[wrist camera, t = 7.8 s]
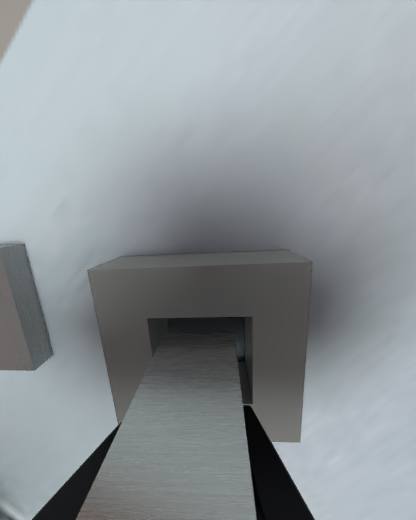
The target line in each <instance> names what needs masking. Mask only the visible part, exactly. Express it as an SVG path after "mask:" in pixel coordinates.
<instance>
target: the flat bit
mask: <svg viewBox="0 0 416 520" xmlns="http://www.w3.org/2000/svg"><path fill="white" fill-rule="evenodd" d="M52 355H53V352H52V348H51V345H50V341H49V337H48V333H47V329H46V325H45V321H44V318H43V314H42V310H41V306H40V302H39V298H38V295H37V291H36V287H35V283H34V279H33V275H32V271H31V268H30V264H29V260H28V256H27V252H26V248H25V244H16V245H0V370H36V369H37V368H38V367H39V366H40V365H42V364H43V363H44V362H45V361H46V360H48V359H49V358H50V357H51V356H52Z"/></svg>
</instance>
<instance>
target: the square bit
mask: <svg viewBox="0 0 416 520" xmlns="http://www.w3.org/2000/svg"><path fill="white" fill-rule="evenodd" d="M76 520H257V519H256V511H255V502H254V494H253V486H252V478H251V469H250V461H249V453H248V444H247V436H246V428H245V420H244V411H243V403H242V395H241V387H240V378H239V370H238V362H237V353H236V345H235V337H234V333H173V334H163V337H162V339H161V341H160V343H159V345H158V347H157V349H156V351H155V353H154V356H153V358H152V360H151V362H150V364H149V366H148V368H147V370H146V372H145V375H144V377H143V379H142V381H141V383H140V385H139V387H138V389H137V391H136V394H135V396H134V398H133V400H132V402H131V404H130V406H129V408H128V410H127V413H126V415H125V417H124V419H123V421H122V423H121V425H120V427H119V429H118V432H117V434H116V436H115V438H114V440H113V442H112V444H111V446H110V448H109V451H108V453H107V455H106V457H105V459H104V461H103V463H102V465H101V467H100V470H99V472H98V474H97V476H96V478H95V480H94V482H93V484H92V486H91V489H90V491H89V493H88V495H87V497H86V499H85V501H84V503H83V505H82V508H81V510H80V512H79V514H78V516H77V518H76Z"/></svg>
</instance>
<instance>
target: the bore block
mask: <svg viewBox="0 0 416 520" xmlns="http://www.w3.org/2000/svg"><path fill="white" fill-rule="evenodd" d="M87 271H88V276H89V281H90V286H91V291H92V296H93V301H94V306H95V311H96V316H97V321H98V326H99V331H100V336H101V341H102V346H103V351H104V356H105V361H106V366H107V371H108V376H109V381H110V386H111V391H112V396H113V401H114V406H115V411H116V416H117V421H118V425H119V424H120V423H121V422H122V420H123V419H124V417H125V415H126V413H127V410H128V408H129V406H130V404H131V402H132V400H133V398H134V396H135V394H136V391H137V389H138V387H139V385H140V383H141V381H142V379H143V377H144V375H145V372H146V370H147V368H148V366H149V364H150V362H151V360H152V358H153V356H154V353H155V351H156V349H157V347H158V345H159V343H160V341H161V339H162V337H163V334H169V329H168V320H167V318H200V317H245V361H246V362H238V370H239V378H240V387H241V395H242V403H243V405H250V406H251V407H252V409H253V410H254V412H255V414H256V416H257V418H258V419H259V421H260V423H261V425H262V426H263V428H264V430H265V432H266V434H267V435H268V437H269V439H270V441H271V442H300V437H301V422H302V407H303V392H304V377H305V362H306V347H307V332H308V317H309V302H310V287H311V272H312V261H310V260H308V259H306V258H304V257H302V256H300V255H298V254H296V253H294V252H292V251H290V250H267V251H243V252H219V253H195V254H172V255H148V256H124V257H118V258H116V259H113V260H111V261H108V262H106V263H104V264H101V265H99V266H96V267H94V268H91V269H89V270H87Z"/></svg>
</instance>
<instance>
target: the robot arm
mask: <svg viewBox="0 0 416 520" xmlns="http://www.w3.org/2000/svg"><path fill="white" fill-rule="evenodd" d="M243 411H244V420H245V428H246V436H247V444H248V453H249V461H250V469H251V478H252V486H253V494H254V502H255V511H256V519H257V520H315V519H314V517H313V516H312V514H311V512H310V510H309V508H308V507H307V505H306V503H305V501H304V500H303V498H302V496H301V494H300V492H299V491H298V489H297V487H296V485H295V483H294V482H293V480H292V478H291V476H290V475H289V473H288V471H287V469H286V467H285V466H284V464H283V462H282V460H281V459H280V457H279V455H278V453H277V451H276V450H275V448H274V446H273V444H272V442H271V441H270V439H269V437H268V435H267V434H266V432H265V430H264V428H263V426H262V425H261V423H260V421H259V419H258V418H257V416H256V414H255V412H254V410H253V409H252V407H251V406H250V405H243ZM122 421H123V420H122ZM121 423H122V422H121ZM121 423H120V424H119V425H118V426H117V427H116V428H115V429H114V430H113V431H112V433H111V434H110V435H109V436H108V437H107V438H106V439H105V440H104V441H103V442H102V443H101V445H100V446H99V447H98V448H97V449H96V450H95V451H94V452H93V453H92V454H91V455H90V457H89V458H88V459H87V460H86V461H85V462H84V463H83V464H82V465H81V466H80V467H79V469H78V470H77V471H76V472H75V473H74V474H73V475H72V476H71V477H70V478H69V480H68V481H67V482H66V483H65V484H64V485H63V486H62V487H61V488H60V489H59V490H58V492H57V493H56V494H55V495H54V496H53V497H52V498H51V499H50V500H49V501H48V502H47V504H46V505H45V506H44V507H43V508H42V509H41V510H40V511H39V512H38V513H37V514H36V516H35V517H34V518H33V519H32V520H76V518H77V516H78V514H79V512H80V510H81V508H82V505H83V503H84V501H85V499H86V497H87V495H88V493H89V491H90V489H91V486H92V484H93V482H94V480H95V478H96V476H97V474H98V472H99V470H100V467H101V465H102V463H103V461H104V459H105V457H106V455H107V453H108V451H109V448H110V446H111V444H112V442H113V440H114V438H115V436H116V434H117V432H118V429H119V427H120V425H121Z"/></svg>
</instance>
